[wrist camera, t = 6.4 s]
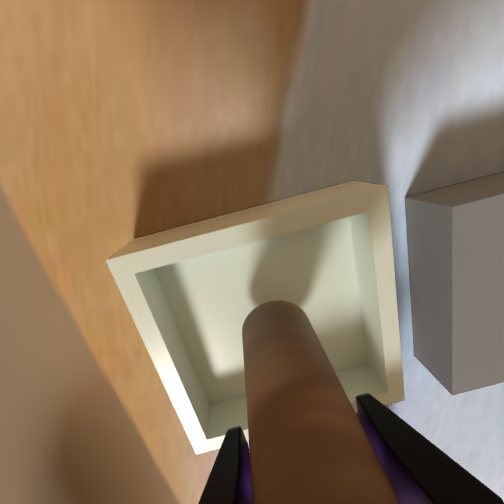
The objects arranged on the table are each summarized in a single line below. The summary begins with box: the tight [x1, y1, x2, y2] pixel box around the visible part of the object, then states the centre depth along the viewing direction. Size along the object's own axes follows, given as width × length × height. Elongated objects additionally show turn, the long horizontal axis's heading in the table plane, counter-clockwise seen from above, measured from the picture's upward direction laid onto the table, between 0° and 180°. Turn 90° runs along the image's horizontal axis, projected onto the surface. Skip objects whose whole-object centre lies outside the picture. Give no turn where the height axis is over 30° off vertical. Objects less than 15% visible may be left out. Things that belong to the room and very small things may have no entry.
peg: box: [242, 300, 401, 504], centre depth 8 cm, size 4×4×10 cm
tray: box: [106, 181, 405, 454], centre depth 13 cm, size 11×11×3 cm
